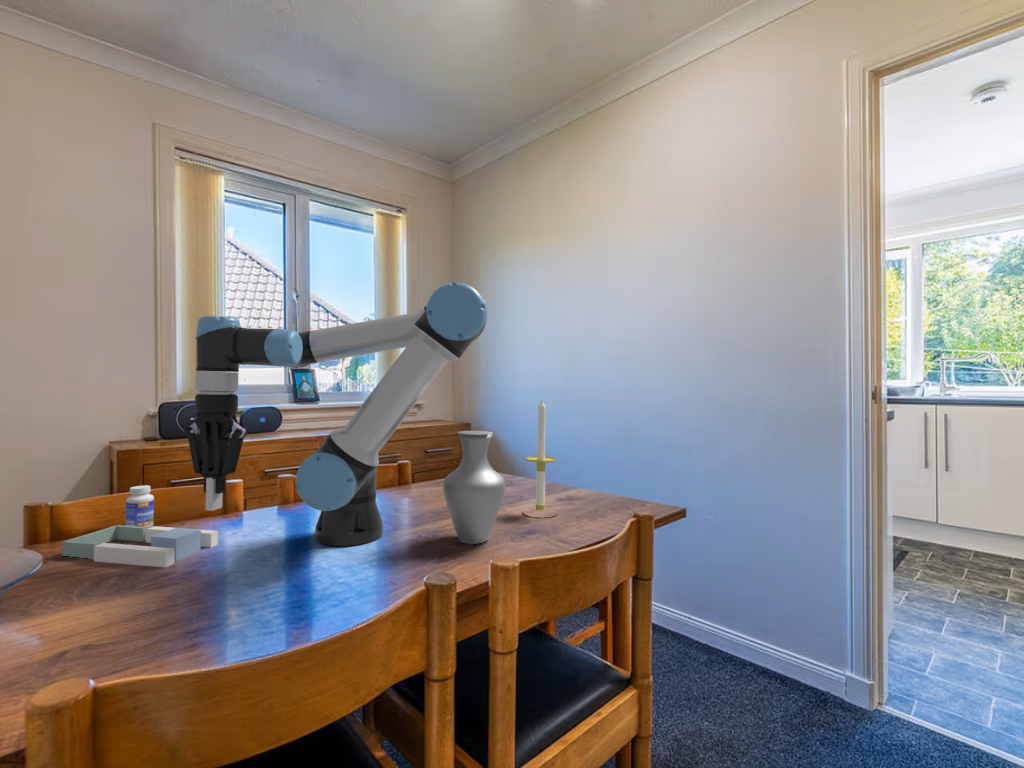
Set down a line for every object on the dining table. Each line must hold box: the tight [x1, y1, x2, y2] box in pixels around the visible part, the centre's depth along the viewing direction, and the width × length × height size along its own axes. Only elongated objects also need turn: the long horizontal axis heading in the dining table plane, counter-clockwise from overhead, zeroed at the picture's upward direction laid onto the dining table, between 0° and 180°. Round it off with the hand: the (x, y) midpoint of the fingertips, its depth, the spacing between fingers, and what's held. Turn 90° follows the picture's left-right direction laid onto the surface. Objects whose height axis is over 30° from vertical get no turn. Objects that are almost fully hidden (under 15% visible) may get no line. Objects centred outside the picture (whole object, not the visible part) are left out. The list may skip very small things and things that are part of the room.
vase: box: [442, 430, 507, 545], centre depth 113 cm, size 14×14×25 cm
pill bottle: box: [125, 484, 155, 529], centre depth 119 cm, size 5×5×10 cm
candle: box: [525, 398, 557, 510], centre depth 137 cm, size 10×10×32 cm
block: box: [150, 527, 202, 562], centre depth 101 cm, size 6×6×4 cm
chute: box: [93, 525, 219, 569], centre depth 102 cm, size 16×14×3 cm
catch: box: [61, 524, 147, 560], centre depth 104 cm, size 8×12×3 cm, turn 171°
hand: (213, 508), depth 100 cm, fingers closed
